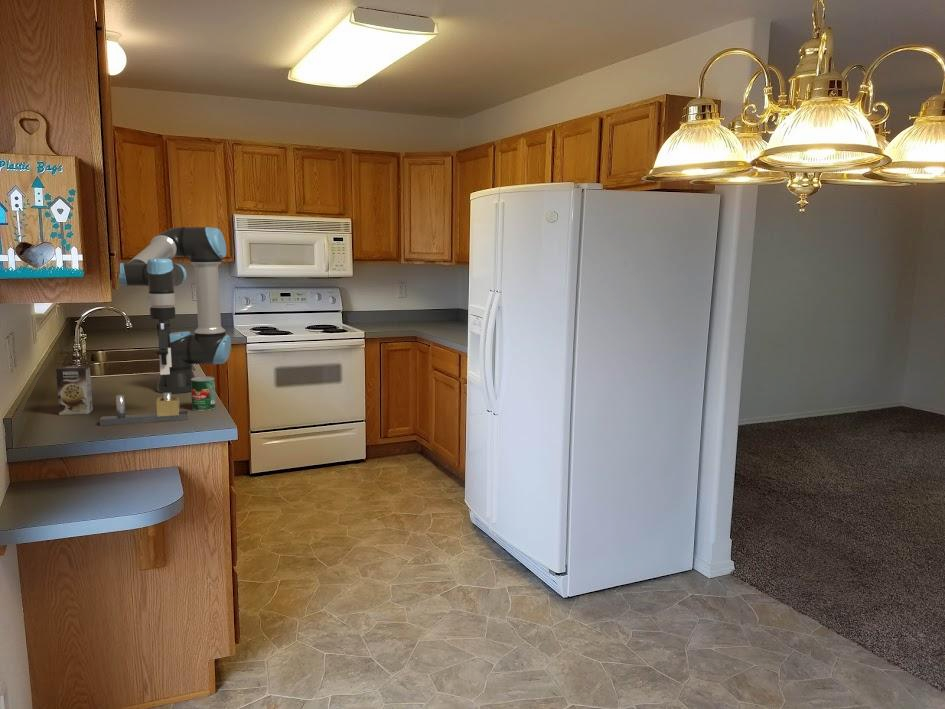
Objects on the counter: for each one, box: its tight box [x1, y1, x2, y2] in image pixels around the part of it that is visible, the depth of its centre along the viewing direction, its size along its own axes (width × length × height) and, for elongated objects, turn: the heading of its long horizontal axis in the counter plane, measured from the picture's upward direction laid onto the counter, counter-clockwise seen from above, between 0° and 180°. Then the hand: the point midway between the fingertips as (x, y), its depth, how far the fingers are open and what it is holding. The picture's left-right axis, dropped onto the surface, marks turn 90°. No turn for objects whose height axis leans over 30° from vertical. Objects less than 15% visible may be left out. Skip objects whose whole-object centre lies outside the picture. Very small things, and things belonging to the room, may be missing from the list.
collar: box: [155, 395, 181, 417], centre depth 225 cm, size 6×6×5 cm
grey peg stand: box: [99, 392, 189, 427], centre depth 222 cm, size 4×26×9 cm, turn 111°
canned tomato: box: [191, 376, 217, 412], centre depth 240 cm, size 8×8×11 cm
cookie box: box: [55, 365, 94, 416], centre depth 232 cm, size 9×6×16 cm
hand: (166, 370), depth 223 cm, fingers open, 13 cm apart
